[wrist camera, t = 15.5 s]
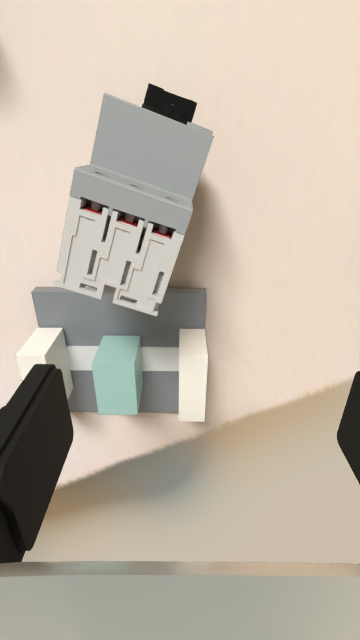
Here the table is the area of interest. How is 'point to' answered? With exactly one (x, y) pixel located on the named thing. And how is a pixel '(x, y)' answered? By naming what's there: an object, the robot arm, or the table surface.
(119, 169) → the circuit breaker
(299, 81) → the table surface
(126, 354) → the block
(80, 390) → the rail board
